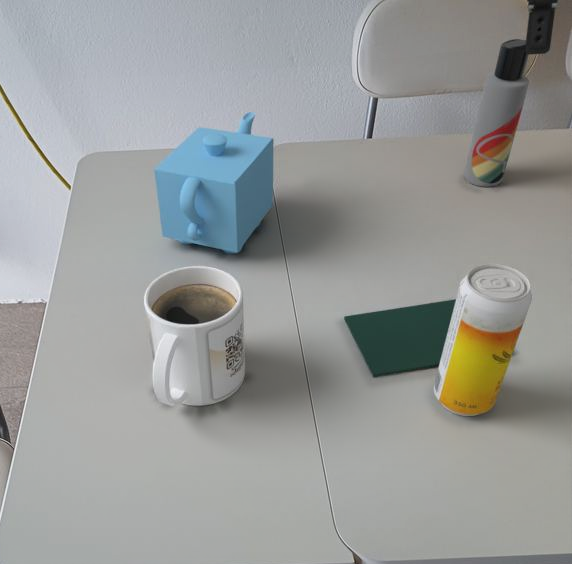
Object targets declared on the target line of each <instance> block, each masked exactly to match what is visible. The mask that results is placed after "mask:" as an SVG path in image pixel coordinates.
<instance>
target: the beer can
mask: <svg viewBox="0 0 572 564" xmlns="http://www.w3.org/2000/svg"><path fill="white" fill-rule="evenodd" d="M531 288H532V286H531V281H530V279H529V278H528V277H527V276H526V275H525V274H524V273H523V272H521V271H520V270H518V269H516V268H514V267H512V266H508V265H504V264H499V263H484V264H483V263H482V264H479V265H476V266H475V267H473V268H471V269H470V270H469V271H468V273H467V274H466V276H465V277H463V278H462V279H461V281H460V283H459V286H458V289H457V295H456V298H455V299H456V302H455V306H454V310H453V314H452V317H451V321H450V325H449V329H448V333H447V337H446V341H445V345H444V348H443V352H442V356H441V360H440V364H439V366H438V368H437V371H436V377H435V380H434V384H433V393H434V396H435V398H436V399H437V401H438V402H439V403H440V404H441V405H442V406H443V408H444V409H445V410H447V411H449V412H450V413H453V414H455V415H458V416H462V417H474V416H478V415H481V414H484V413H487V412H488V411H490V410H491V409H492V408H493V407H494V406H495V403H496V401H497V398H498V395H499V392H500V390H501V388H502V385H503V381H504V378H505V377H506V373H507V371H508V368H509V365H510V362H511V359H512V358H513V357H512V356H513V355H514V351H515V348H516V345H517V342H518V340H519V337H520V334H521V332H522V328H523V326H524V323H525V320H526V317H527V315H528V312H529V309H530V307H531V303H532V301H533V294H532V289H531Z"/></svg>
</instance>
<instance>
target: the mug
mask: <svg viewBox="0 0 572 564" xmlns="http://www.w3.org/2000/svg"><path fill="white" fill-rule="evenodd" d="M243 292H244V291H243V288H242V285H241V284H240V281H238V279H237V278H236V277H234V276H233V275H232V274H231V273H228V272H227V271H225V270H222V269H220V268H216V267H214V266H213V267H212V266H206V265H190V266H188V265H187V266H182V267H178V268H175V269H172V270H169V271H167V272H164V273H162V274H161V275H158V277H157V278H155V279H153V281H152V282H151V283H150V284H149V285H148V286H147V288H146V290H145V292H144V296H143V306H144V312H145V313H144V314H145V318H146V325H147V331H148V336H149V342H150V348H151V354H152V360H153V361H152V362H153V365H152V386H153V391H154V394H155V396H156V399H157V400H158V402H160V403H162V404H165V405H167V406H171V407H177V406H179V405H181V404H182V405H186V406H194V407H197V406H198V407H200V406H209V405H213V404H217V403H220V402H222V401H224V400H226V399H228V398H230V397H232V395H234V394H235V393H236V392H237V391H238V390H239V388H241V386H242V384H243V382H244V380H245V377H246V355H245V354H246V353H245V349H246V348H245V320H244V319H245V318H244V317H245V316H244V293H243Z"/></svg>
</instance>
